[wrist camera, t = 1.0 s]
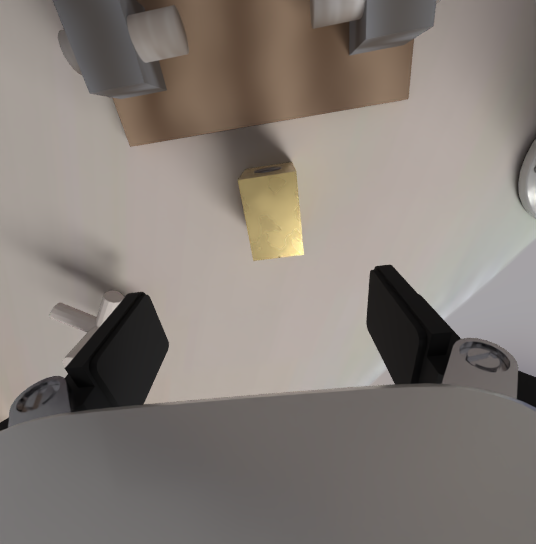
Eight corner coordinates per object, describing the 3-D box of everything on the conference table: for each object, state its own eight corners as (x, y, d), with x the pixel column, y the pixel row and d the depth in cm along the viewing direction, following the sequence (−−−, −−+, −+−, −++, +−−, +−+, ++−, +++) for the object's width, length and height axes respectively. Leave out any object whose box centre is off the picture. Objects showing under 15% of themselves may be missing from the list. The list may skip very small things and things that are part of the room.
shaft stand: (420, -125, 16) (479, -227, 12) (401, 100, 22) (436, 92, 17) (71, -38, 19) (2, -94, 14) (136, 145, 24) (103, 150, 20)
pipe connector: (94, 253, 30) (19, 305, 21) (175, 290, 32) (138, 351, 24) (78, 312, 34) (11, 376, 26) (151, 341, 37) (112, 409, 28)
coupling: (245, 168, 25) (237, 179, 20) (291, 161, 25) (296, 170, 20) (257, 236, 29) (253, 261, 23) (298, 231, 28) (303, 255, 23)
